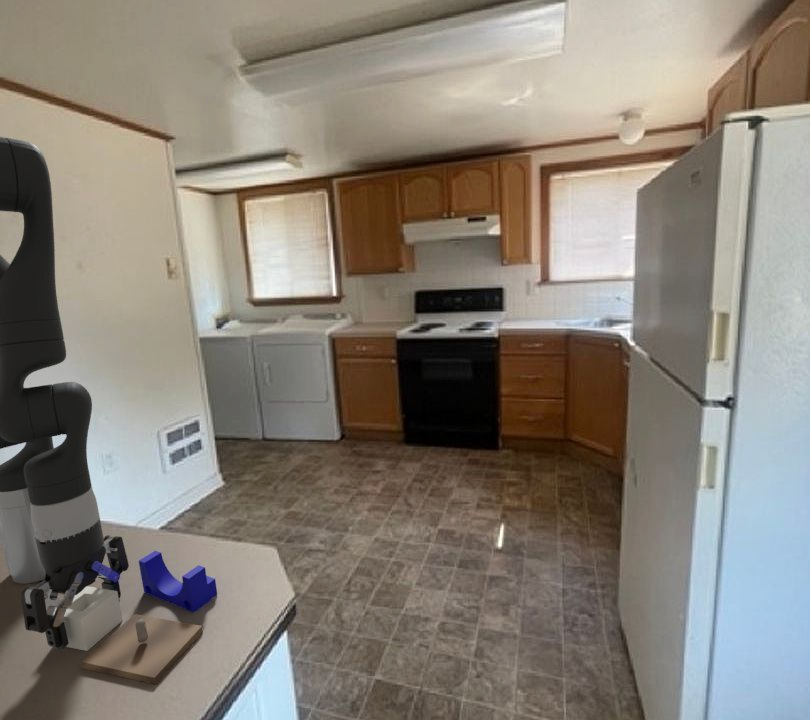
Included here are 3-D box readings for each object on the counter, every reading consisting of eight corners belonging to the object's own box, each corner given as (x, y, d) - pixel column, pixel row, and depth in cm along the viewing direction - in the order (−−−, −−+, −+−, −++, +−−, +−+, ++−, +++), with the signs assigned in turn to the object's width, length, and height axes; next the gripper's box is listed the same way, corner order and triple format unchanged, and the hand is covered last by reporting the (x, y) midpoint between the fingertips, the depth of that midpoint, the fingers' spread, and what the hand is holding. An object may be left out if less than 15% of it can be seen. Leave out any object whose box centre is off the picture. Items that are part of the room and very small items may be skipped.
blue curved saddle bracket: (217, 595, 76) (212, 561, 75) (194, 613, 72) (188, 578, 71) (168, 577, 81) (163, 545, 80) (144, 593, 78) (138, 560, 76)
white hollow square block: (54, 644, 67) (47, 613, 66) (91, 614, 73) (86, 586, 72) (87, 651, 66) (80, 619, 65) (122, 620, 71) (117, 591, 70)
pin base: (82, 668, 63) (75, 638, 62) (135, 619, 71) (131, 593, 70) (155, 684, 59) (150, 653, 59) (202, 631, 68) (198, 603, 67)
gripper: (91, 497, 74) (109, 589, 77) (-7, 549, 60) (18, 658, 63) (130, 501, 72) (146, 595, 75) (37, 556, 58) (61, 667, 61)
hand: (88, 624), depth 69 cm, fingers open, 8 cm apart
